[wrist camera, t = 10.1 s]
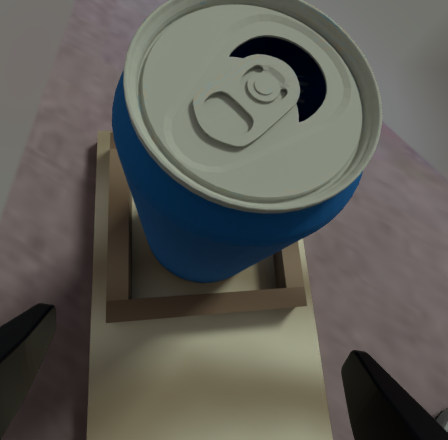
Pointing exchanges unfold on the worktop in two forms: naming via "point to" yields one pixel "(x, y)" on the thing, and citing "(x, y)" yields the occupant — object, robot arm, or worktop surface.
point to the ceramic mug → (443, 419)
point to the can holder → (196, 339)
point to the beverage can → (241, 129)
